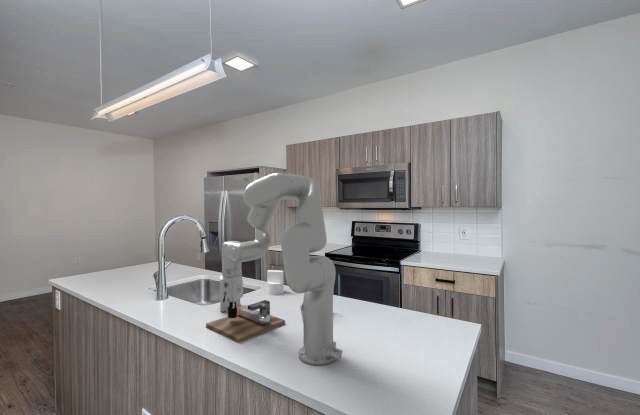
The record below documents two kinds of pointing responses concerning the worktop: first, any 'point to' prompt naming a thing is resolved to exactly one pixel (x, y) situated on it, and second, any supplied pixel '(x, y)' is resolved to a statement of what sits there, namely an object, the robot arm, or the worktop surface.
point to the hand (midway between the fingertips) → (232, 317)
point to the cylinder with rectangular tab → (275, 282)
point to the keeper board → (244, 325)
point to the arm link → (255, 314)
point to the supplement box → (222, 307)
